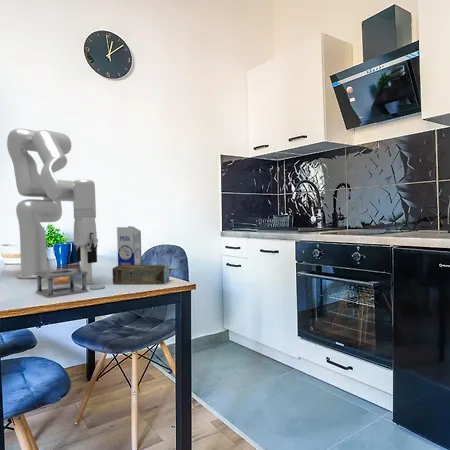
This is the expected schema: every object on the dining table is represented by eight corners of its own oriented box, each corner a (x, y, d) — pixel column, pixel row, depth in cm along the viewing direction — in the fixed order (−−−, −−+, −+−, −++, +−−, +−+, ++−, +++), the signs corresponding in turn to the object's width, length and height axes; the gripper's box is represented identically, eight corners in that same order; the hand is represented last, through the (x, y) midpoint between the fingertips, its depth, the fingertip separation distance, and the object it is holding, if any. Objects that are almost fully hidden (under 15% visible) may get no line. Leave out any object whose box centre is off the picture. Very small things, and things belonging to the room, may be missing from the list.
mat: (86, 288, 127) (86, 287, 127) (101, 286, 131) (101, 285, 131) (93, 290, 124) (93, 289, 124) (107, 288, 127) (107, 286, 127)
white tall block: (79, 283, 137) (78, 239, 137) (89, 282, 140) (88, 238, 139) (84, 284, 135) (82, 239, 134) (93, 283, 137) (92, 239, 137)
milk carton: (117, 278, 148) (116, 226, 147) (126, 275, 154) (125, 226, 154) (134, 278, 146) (133, 226, 145) (142, 275, 153) (141, 225, 152)
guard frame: (36, 292, 123) (35, 272, 123) (73, 286, 131) (72, 268, 131) (49, 297, 114) (48, 276, 114) (88, 291, 122) (87, 271, 122)
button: (52, 283, 122) (52, 277, 122) (66, 281, 125) (65, 275, 125) (57, 284, 119) (57, 278, 119) (71, 283, 122) (71, 276, 122)
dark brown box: (164, 285, 132) (164, 266, 132) (111, 285, 134) (110, 266, 134) (170, 281, 140) (169, 263, 140) (119, 281, 142) (119, 263, 142)
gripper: (65, 215, 140) (67, 261, 141) (84, 213, 128) (86, 264, 128) (85, 214, 145) (86, 259, 146) (105, 213, 133) (107, 262, 133)
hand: (86, 261), depth 137 cm, fingers open, 9 cm apart
